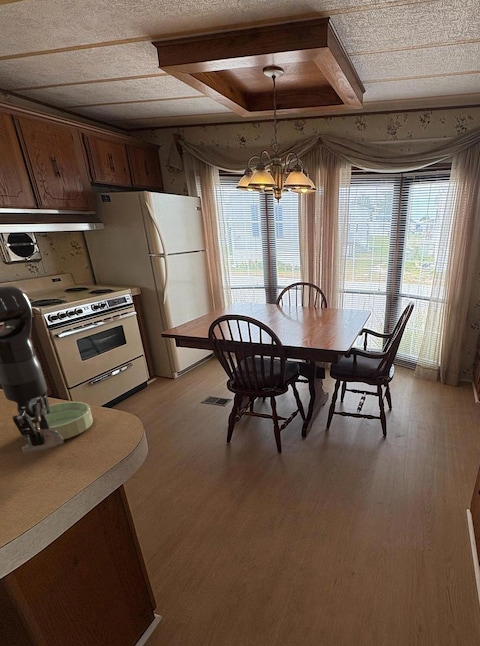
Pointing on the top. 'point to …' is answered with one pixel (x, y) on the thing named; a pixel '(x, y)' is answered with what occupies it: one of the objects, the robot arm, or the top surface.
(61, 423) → the bowl
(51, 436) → the crumpled paper
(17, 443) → the top surface
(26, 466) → the top surface
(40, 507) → the top surface
